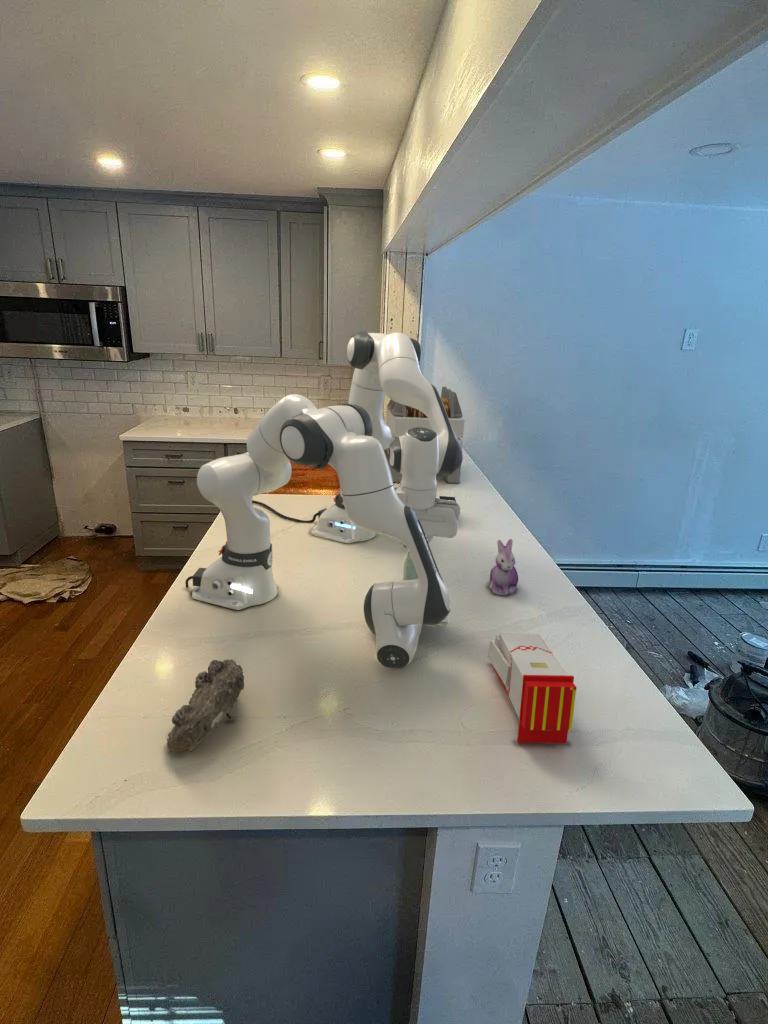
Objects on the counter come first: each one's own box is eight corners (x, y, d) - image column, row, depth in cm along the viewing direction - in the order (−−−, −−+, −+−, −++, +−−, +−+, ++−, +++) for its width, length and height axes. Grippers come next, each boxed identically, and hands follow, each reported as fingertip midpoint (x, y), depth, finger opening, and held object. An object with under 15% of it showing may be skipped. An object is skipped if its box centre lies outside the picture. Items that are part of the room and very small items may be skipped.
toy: (536, 617, 130) (585, 683, 100) (531, 671, 132) (578, 750, 103) (483, 616, 129) (518, 682, 100) (479, 670, 132) (511, 749, 103)
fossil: (192, 660, 117) (244, 628, 112) (224, 691, 120) (276, 661, 115) (142, 746, 98) (202, 712, 93) (182, 779, 101) (242, 748, 96)
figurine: (501, 599, 157) (507, 549, 152) (479, 583, 165) (484, 536, 160) (527, 593, 161) (534, 544, 156) (504, 578, 170) (510, 531, 165)
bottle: (397, 611, 149) (402, 539, 142) (413, 608, 151) (418, 537, 144) (406, 620, 145) (411, 546, 138) (422, 616, 147) (428, 543, 140)
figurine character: (458, 530, 209) (453, 512, 222) (460, 512, 205) (455, 494, 219) (440, 529, 209) (436, 511, 222) (442, 511, 205) (438, 494, 219)
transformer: (382, 463, 289) (386, 382, 275) (445, 464, 293) (451, 384, 279) (390, 482, 257) (394, 392, 243) (460, 483, 261) (468, 394, 247)
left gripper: (449, 614, 131) (452, 587, 144) (362, 603, 134) (374, 577, 147) (446, 637, 133) (450, 609, 146) (361, 626, 136) (373, 599, 149)
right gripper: (462, 497, 138) (457, 549, 142) (380, 488, 142) (377, 539, 146) (459, 505, 132) (454, 559, 137) (374, 495, 136) (372, 548, 140)
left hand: (411, 593), depth 147 cm, fingers closed on bottle, 5 cm apart
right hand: (414, 549), depth 141 cm, fingers closed on cap, 3 cm apart
